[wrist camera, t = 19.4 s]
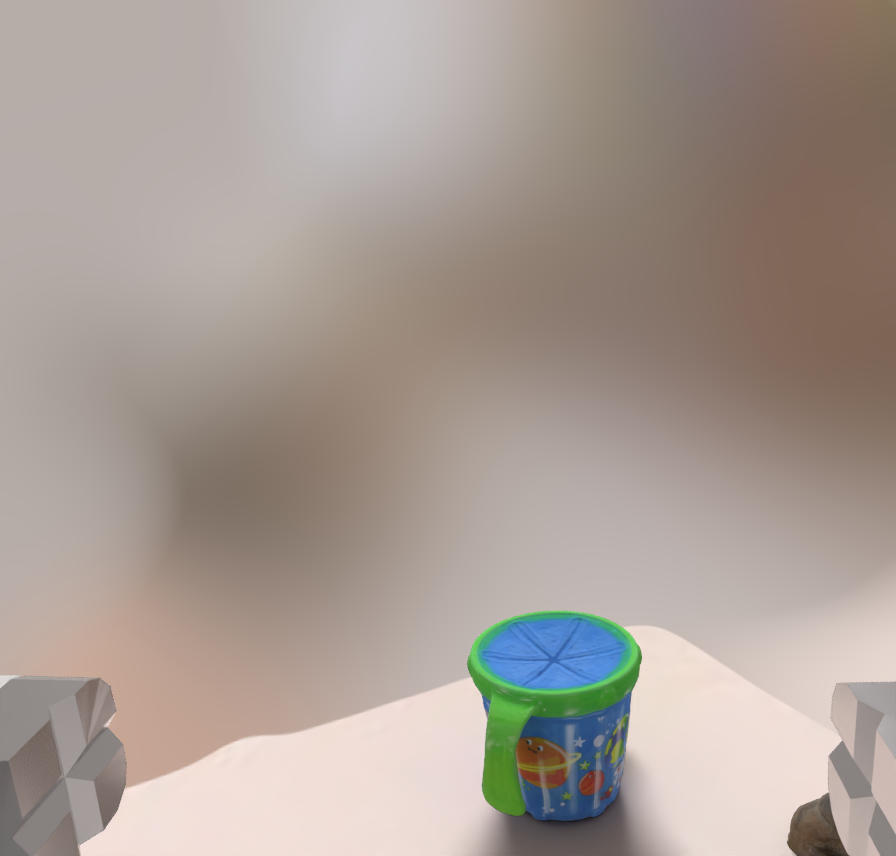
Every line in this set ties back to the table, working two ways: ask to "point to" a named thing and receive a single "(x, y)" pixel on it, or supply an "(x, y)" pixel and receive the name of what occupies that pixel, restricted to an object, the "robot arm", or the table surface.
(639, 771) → the table surface
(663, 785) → the table surface
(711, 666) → the table surface
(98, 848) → the table surface
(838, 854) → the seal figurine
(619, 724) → the snack cup
